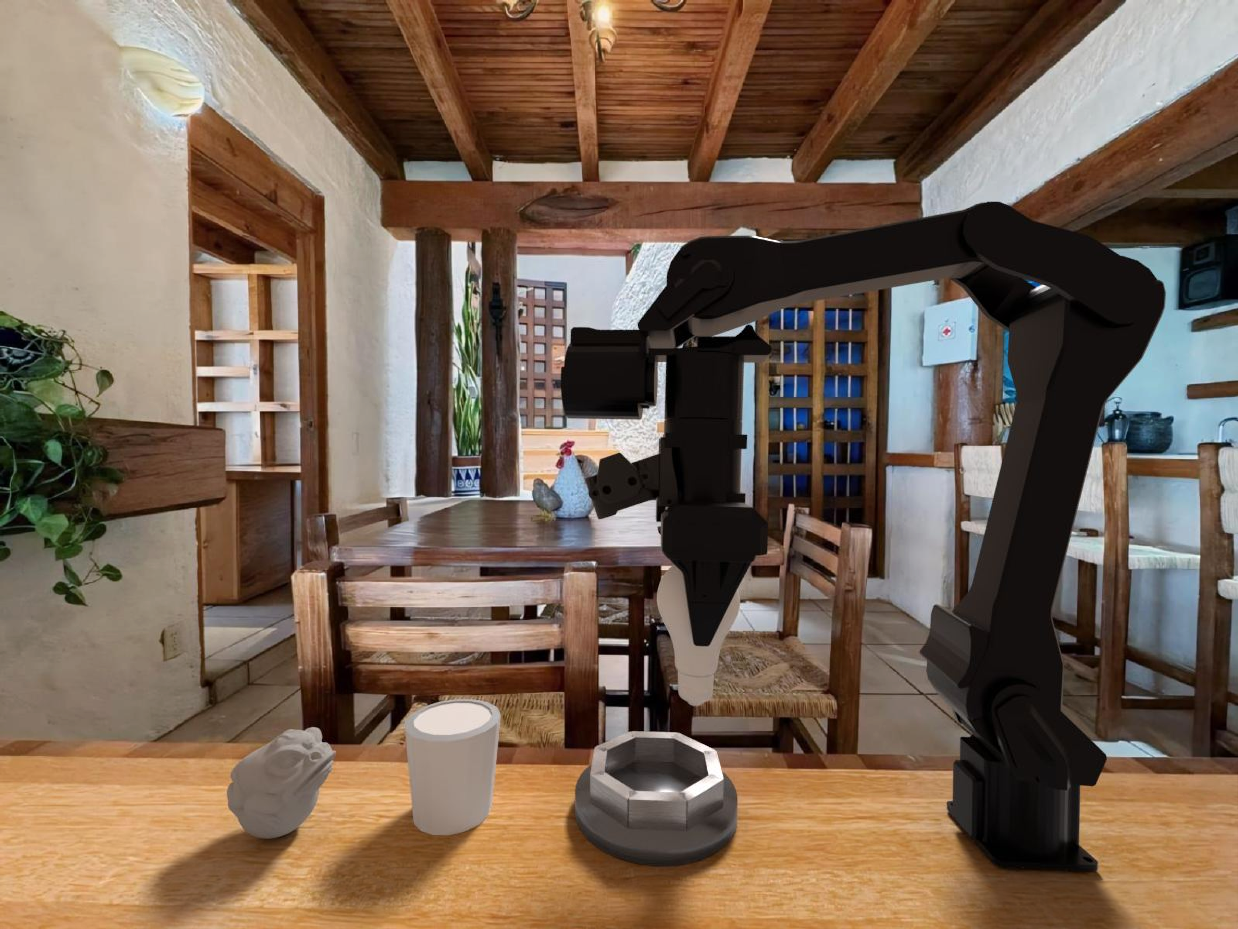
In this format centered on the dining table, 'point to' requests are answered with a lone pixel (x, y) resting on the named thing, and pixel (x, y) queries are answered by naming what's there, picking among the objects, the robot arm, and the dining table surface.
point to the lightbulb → (691, 639)
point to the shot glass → (452, 764)
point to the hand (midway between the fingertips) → (697, 631)
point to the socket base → (656, 799)
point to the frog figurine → (280, 783)
